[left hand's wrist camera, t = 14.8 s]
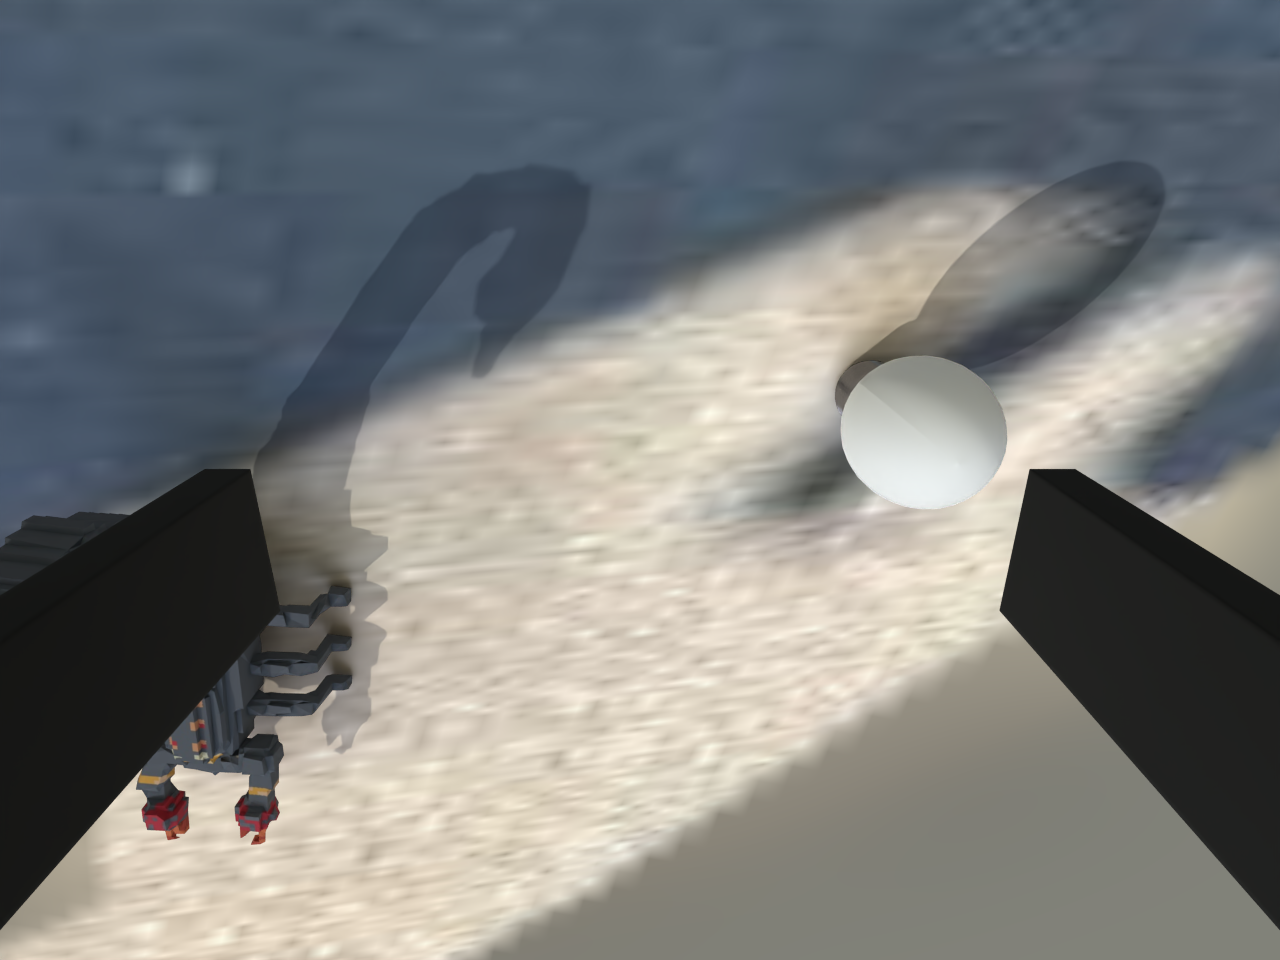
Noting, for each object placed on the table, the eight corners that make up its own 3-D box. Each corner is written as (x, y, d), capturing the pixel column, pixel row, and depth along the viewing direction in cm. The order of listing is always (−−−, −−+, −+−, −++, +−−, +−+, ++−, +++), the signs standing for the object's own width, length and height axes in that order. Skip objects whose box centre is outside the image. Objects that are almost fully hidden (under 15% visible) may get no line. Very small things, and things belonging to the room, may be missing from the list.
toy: (349, 448, 40) (131, 634, 23) (353, 809, 49) (201, 1130, 32) (103, 416, 39) (-313, 582, 22) (155, 788, 49) (-106, 1105, 32)
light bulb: (786, 405, 39) (838, 479, 29) (873, 305, 37) (962, 345, 27) (875, 475, 40) (955, 569, 30) (963, 382, 38) (1081, 449, 28)
